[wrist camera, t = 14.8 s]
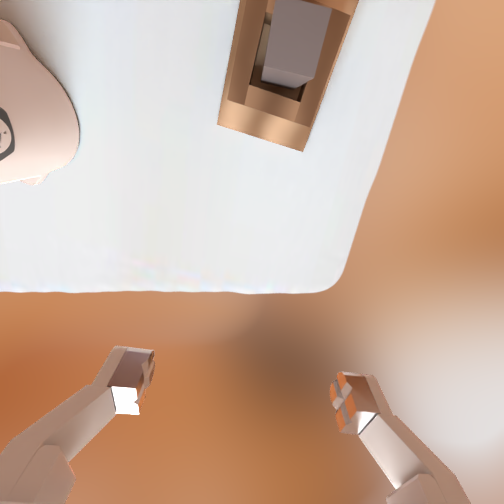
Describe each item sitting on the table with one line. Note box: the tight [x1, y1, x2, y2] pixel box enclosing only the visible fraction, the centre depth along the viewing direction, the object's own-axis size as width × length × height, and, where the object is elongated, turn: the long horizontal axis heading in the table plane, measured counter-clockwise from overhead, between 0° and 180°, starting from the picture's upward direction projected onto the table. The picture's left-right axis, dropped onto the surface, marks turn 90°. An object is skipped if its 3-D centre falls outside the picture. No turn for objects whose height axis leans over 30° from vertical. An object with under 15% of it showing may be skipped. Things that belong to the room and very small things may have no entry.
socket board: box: [217, 0, 359, 152], centre depth 27 cm, size 12×16×4 cm
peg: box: [261, 0, 332, 90], centre depth 23 cm, size 4×4×12 cm
